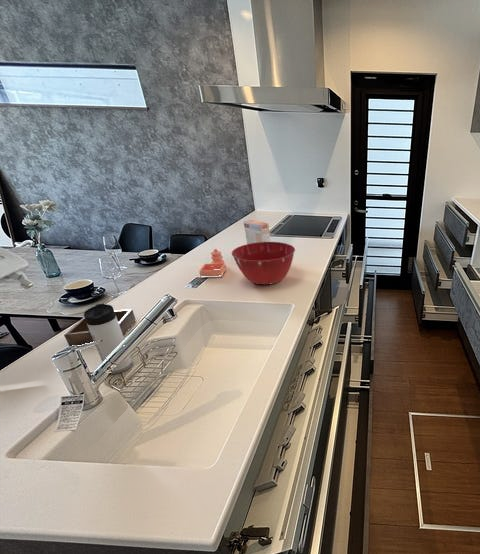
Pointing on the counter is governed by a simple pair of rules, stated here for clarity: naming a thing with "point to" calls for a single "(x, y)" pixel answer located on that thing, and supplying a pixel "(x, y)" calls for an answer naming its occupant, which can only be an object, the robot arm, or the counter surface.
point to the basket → (82, 333)
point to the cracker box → (256, 231)
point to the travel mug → (106, 332)
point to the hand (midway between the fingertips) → (15, 295)
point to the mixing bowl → (264, 261)
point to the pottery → (213, 265)
